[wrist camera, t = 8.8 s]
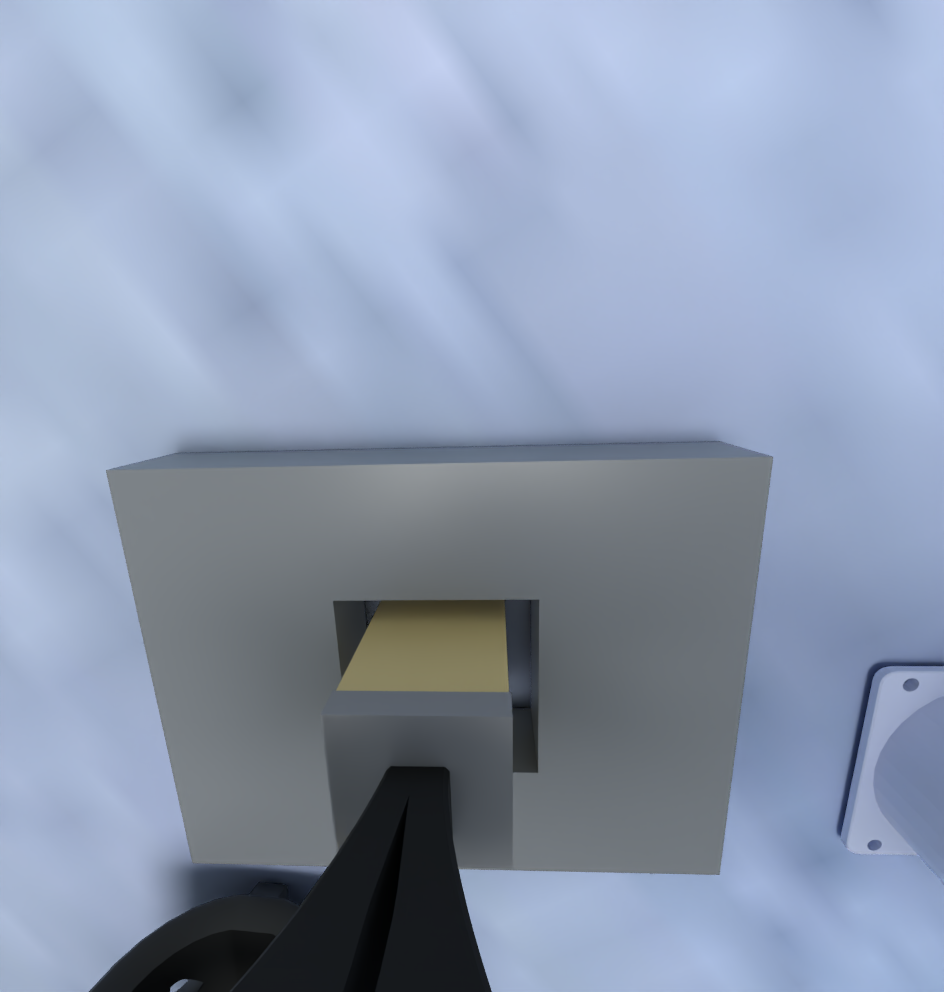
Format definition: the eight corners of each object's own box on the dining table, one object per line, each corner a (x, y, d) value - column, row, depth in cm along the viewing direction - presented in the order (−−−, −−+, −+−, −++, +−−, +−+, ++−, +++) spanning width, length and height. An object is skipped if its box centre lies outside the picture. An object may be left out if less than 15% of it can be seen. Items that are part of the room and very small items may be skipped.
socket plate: (719, 441, 15) (772, 457, 12) (684, 796, 19) (719, 874, 16) (175, 453, 16) (105, 470, 13) (237, 790, 19) (192, 863, 17)
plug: (504, 578, 17) (512, 717, 10) (505, 680, 18) (513, 868, 11) (389, 578, 17) (320, 714, 10) (396, 679, 18) (337, 864, 11)
